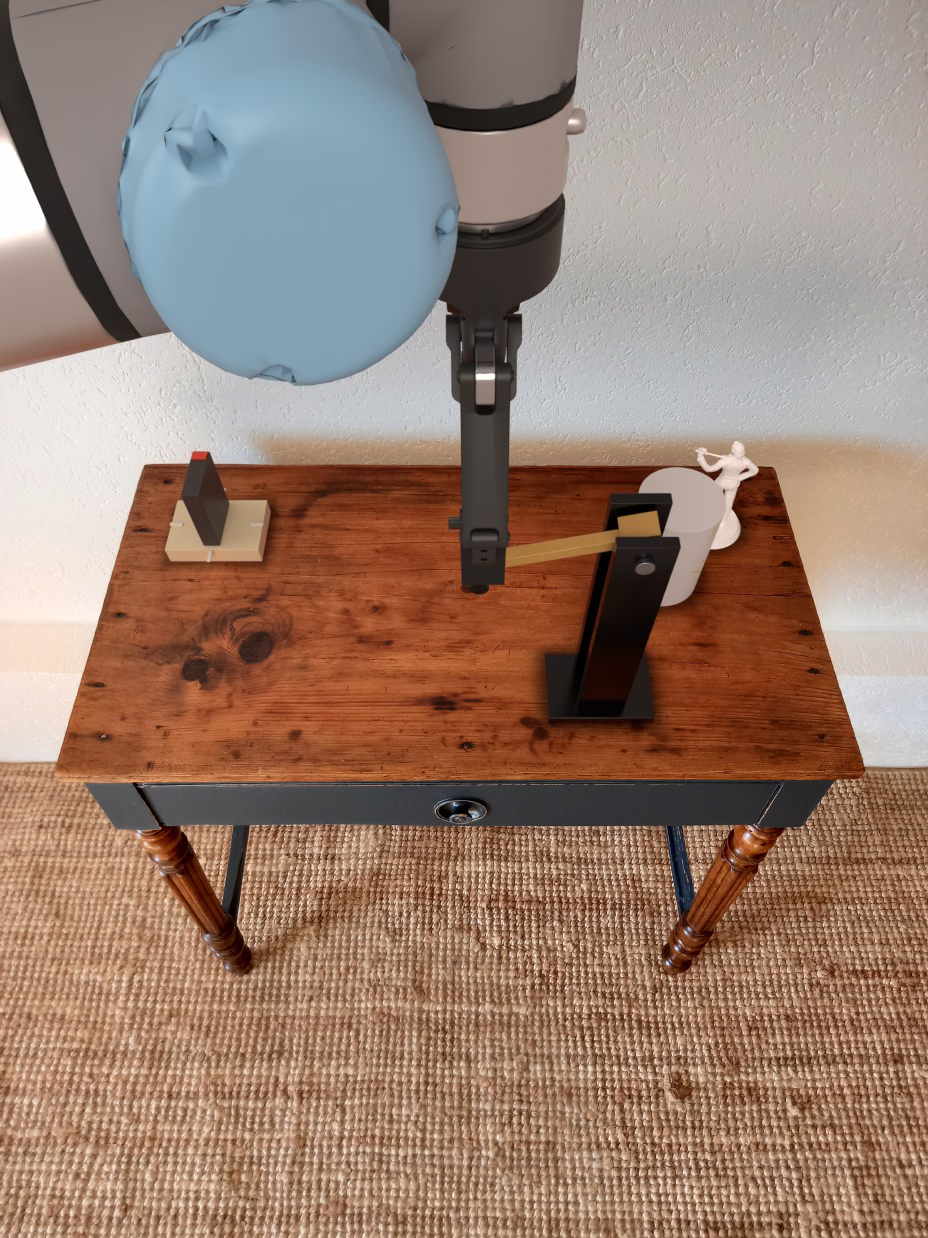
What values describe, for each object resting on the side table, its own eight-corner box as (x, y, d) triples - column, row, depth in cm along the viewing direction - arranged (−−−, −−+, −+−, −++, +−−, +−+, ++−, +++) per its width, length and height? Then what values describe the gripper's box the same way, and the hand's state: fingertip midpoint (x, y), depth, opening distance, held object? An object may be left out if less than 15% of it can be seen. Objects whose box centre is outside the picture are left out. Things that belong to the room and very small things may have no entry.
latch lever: (474, 599, 60) (465, 581, 58) (474, 546, 63) (465, 528, 61) (665, 570, 57) (663, 550, 55) (656, 516, 60) (654, 495, 58)
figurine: (736, 501, 91) (769, 421, 81) (744, 550, 87) (779, 474, 77) (672, 498, 91) (697, 418, 81) (677, 547, 87) (704, 470, 77)
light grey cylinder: (701, 606, 83) (732, 533, 73) (622, 605, 83) (643, 532, 73) (690, 544, 87) (719, 467, 77) (616, 543, 88) (634, 466, 78)
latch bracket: (547, 723, 76) (577, 559, 54) (543, 659, 80) (570, 482, 58) (652, 723, 76) (724, 559, 54) (644, 659, 80) (708, 482, 58)
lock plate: (166, 573, 86) (159, 561, 84) (184, 501, 92) (179, 488, 90) (261, 573, 86) (256, 561, 84) (273, 500, 91) (269, 488, 90)
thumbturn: (220, 546, 85) (197, 494, 78) (203, 546, 85) (179, 493, 78) (229, 503, 89) (209, 449, 82) (213, 503, 89) (191, 449, 82)
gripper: (588, 372, 30) (546, 657, 48) (551, 61, 43) (529, 374, 61) (387, 374, 30) (420, 657, 48) (412, 63, 43) (431, 375, 61)
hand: (482, 499), depth 55 cm, fingers open, 13 cm apart
